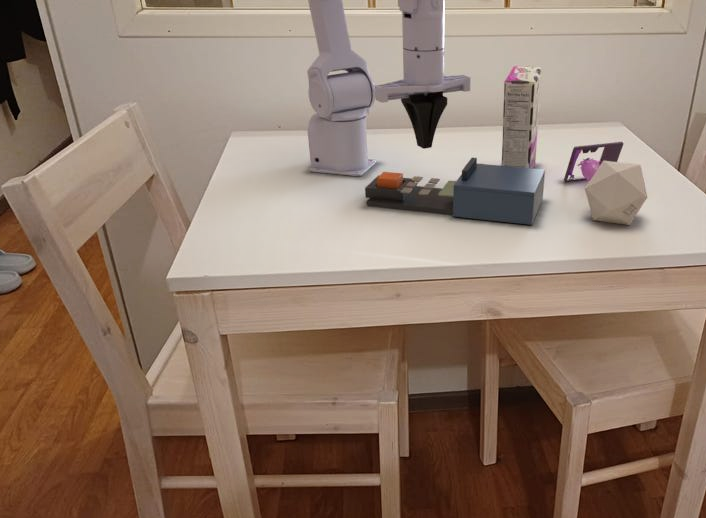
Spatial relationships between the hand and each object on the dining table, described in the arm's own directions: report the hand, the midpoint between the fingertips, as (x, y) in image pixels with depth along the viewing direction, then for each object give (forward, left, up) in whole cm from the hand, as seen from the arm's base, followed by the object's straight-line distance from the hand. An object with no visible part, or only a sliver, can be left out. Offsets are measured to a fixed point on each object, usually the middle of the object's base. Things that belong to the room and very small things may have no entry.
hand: (424, 146), depth 106 cm
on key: (-5, 0, -6) cm, 9 cm away
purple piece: (+25, +16, -9) cm, 31 cm away
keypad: (+1, 0, -6) cm, 6 cm away
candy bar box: (+12, +17, -9) cm, 22 cm away
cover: (+12, 0, -8) cm, 14 cm away
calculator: (0, 0, -9) cm, 9 cm away
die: (+29, +1, -9) cm, 30 cm away
